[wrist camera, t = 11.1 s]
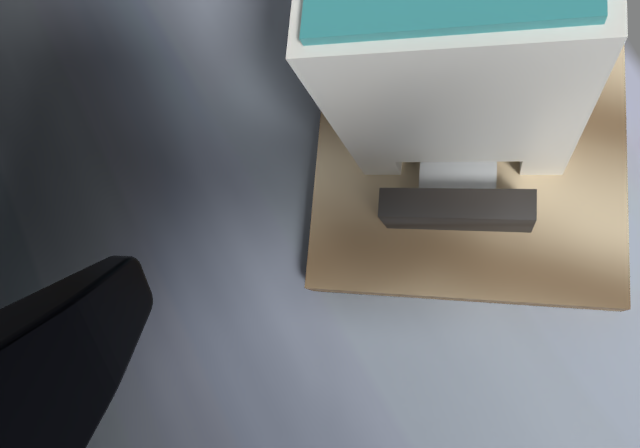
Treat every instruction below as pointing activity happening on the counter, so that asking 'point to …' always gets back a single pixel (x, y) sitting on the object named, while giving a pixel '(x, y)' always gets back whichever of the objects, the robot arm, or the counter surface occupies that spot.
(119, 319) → the robot arm
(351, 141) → the panel
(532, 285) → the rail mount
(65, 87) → the counter surface
